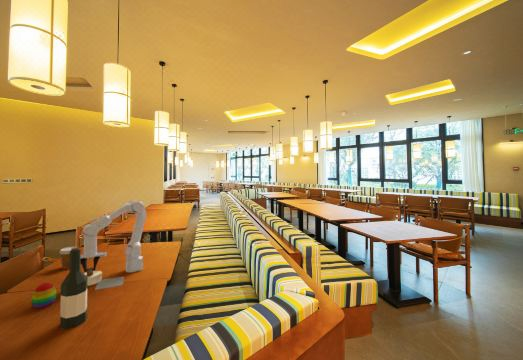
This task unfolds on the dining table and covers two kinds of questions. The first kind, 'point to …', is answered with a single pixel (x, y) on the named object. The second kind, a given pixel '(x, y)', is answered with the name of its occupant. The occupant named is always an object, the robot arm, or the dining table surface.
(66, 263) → the disposable coffee cup
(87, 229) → the robot arm
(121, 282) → the mat
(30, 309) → the dining table surface
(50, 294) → the decorative egg
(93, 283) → the bowl
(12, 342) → the dining table surface
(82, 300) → the wine bottle
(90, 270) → the lid
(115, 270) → the dining table surface
